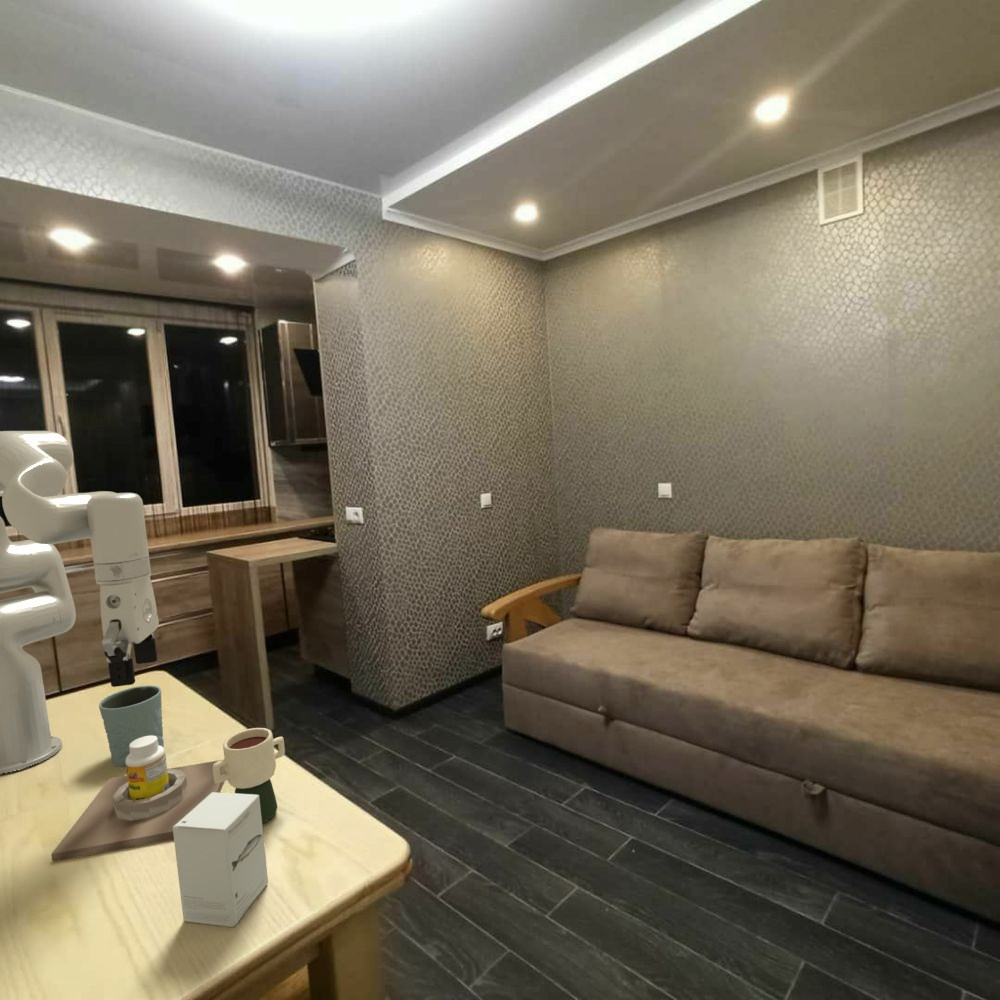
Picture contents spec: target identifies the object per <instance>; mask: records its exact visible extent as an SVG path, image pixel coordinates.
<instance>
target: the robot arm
mask: <svg viewBox="0 0 1000 1000" xmlns="http://www.w3.org/2000/svg"><path fill="white" fill-rule="evenodd" d="M73 462H74V451H73V448H72V445H71V444H70V442H69V441H68V439H66V437H64V436H63V435H61V434H60V433H58V432H55V431H51V430H3V431H2V430H0V497H1V501H2V502H1V503H2V508H3V509H2V510H3V512H4V515H5V517H6V520H7V521H8V523H9V524H10V526H11V527H12V528H13V529H15V531H17V532H19V533H20V534H21V535H22V536H24V537H25V538H26V539H25V540H19V541H11V539H10V538H9V536H8V532H7V528H6V523H5V521H4V519H3V518H2V517H1V516H0V594H4V593H8V592H12V591H17V590H18V591H19V590H21V589H22V590H23V589H26V588H31V589H32V590H33V591H34V592H33V593H30V594H28V593H27V594H24V595H20V596H15V597H13V596H12V597H10V598H5V599H1V600H0V775H3V774H2V773H5V774H7V773H6V772H10V773H12V772H11V771H14V770H18V769H22V768H25V769H27V768H26V767H28V768H30V767H29V766H31V767H33V766H35V765H34V764H36V765H38V764H40V763H42V762H44V760H45V761H47V760H48V759H50V758H51V756H52V757H53V756H55V755H56V754H57V753H58V752H59V751H60V750H61V748H62V747H63V744H62V743H63V742H62V739H61V738H59V737H57V736H54V735H53V736H51V727H50V721H49V720H50V719H49V713H48V708H47V707H48V705H47V700H46V693H45V686H44V680H43V674H42V673H43V671H42V667H41V664H40V662H39V661H38V660H37V658H35V657H34V656H33V655H31V654H29V653H28V652H27V651H25V650H24V649H23V647H24V646H26V645H29V644H31V643H35V642H38V641H43V640H46V639H50V638H53V637H55V636H59V635H63V634H65V633H66V632H68V631H70V630H71V629H72V628H73V627H74V625H75V623H76V619H77V618H76V617H77V613H76V606H75V602H74V599H73V595H72V591H71V588H70V584H69V580H68V577H67V573H66V569H65V565H64V562H63V558H62V555H61V553H60V552H59V550H58V549H57V547H56V546H55V545H57V544H63V543H67V542H68V543H70V542H75V541H81V540H87V539H90V546H91V553H92V561H93V569H94V570H93V571H94V577H95V584H96V585H99V586H100V589H99V594H100V595H99V596H100V598H99V601H100V616H101V617H100V618H101V628H102V635H103V638H102V641H101V645H102V647H103V650H104V651H103V652H104V656H105V657H106V663H107V664H108V671H109V679H110V686H111V687H113V688H116V687H124V686H131V685H134V684H135V683H136V676H135V675H136V674H135V669H134V659H133V658H130V657H131V651H132V647H133V649H134V650H133V651H134V656H135V657H134V658H135V663H136V664H137V665H140V664H148V663H149V664H150V663H155V662H157V661H158V651H157V650H158V649H157V644H156V642H157V641H156V638H155V637H156V630H157V629H158V627H159V624H160V622H159V621H160V620H159V615H158V608H157V603H156V597H155V593H154V587H153V583H152V580H151V577H152V569H151V562H150V561H151V560H150V554H149V546H148V537H147V528H146V527H147V526H146V518H145V510H144V503H143V502H144V501H143V499H142V498H141V496H140V495H139V494H138V493H134V492H118V493H117V492H114V491H108V490H107V491H105V490H103V491H101V490H99V491H90V492H78V493H68V494H67V493H65V494H60V493H61V492H62V491H63V489H64V488H65V486H66V483H67V481H68V475H67V473H68V472H69V471H70V469H71V468H72V465H73ZM123 647H124V648H123ZM121 648H123V650H122V649H121ZM37 763H38V764H37ZM32 765H33V766H32ZM22 770H23V769H22ZM18 771H19V770H18Z"/></svg>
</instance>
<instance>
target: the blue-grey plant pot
mask: <svg viewBox="0 0 1000 1000" xmlns="http://www.w3.org/2000/svg"><path fill="white" fill-rule="evenodd" d="M162 704H163V703H162V688H161V687H159V686H157V685H152V684H151V685H150V684H149V685H138V686H132V687H129V688H125V689H122V690H120V691H117V692H115V693H112V694H110V695H107V697H104V698H103V699H102V700H101V701H100V702H99V703H98V707H99V711H100V715H101V719H102V721H103V726H104V730H105V733H106V737H107V741H108V744H109V745H108V748H109V753H110V756H111V760H112V763H113V765H114V766H115V767H119V768H121V767H123V768H124V767H125V768H126V763H125V761H126V758H127V756H128V755H129V754H130V748H129V745H130V743H131V742H133V741H134V740H136V739H138V738H141V737H144V736H156V737H157V739H158V745H159V746H162V747H163V748H164V749H165V747H164V746H165V745H164V738H163V737H164V731H163V730H164V727H163V715H162V714H163V710H162V709H163V707H162Z"/></svg>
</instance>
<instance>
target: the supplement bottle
mask: <svg viewBox="0 0 1000 1000" xmlns="http://www.w3.org/2000/svg"><path fill="white" fill-rule="evenodd" d="M129 748H130V754H129V755H128V756H127V758H126V761H125V763H126V767H125V768H126V769H125V770H126V776H127V778H128V785H129V792H130V799H131V800H133V801H136V800H141V799H147V798H151V797H153V796H156V795H158V794H161V793H163V792H165V791H166V790H167V789H169V788H170V786H169V778H168V770H167V769H168V764H167V763H168V762H167V756H166V750H165V747H164V748H163V747H162V746H159V745H158V739H157V737H156V736H144V737H141V738H138V739H136V740H134V741H133V742H131V743H130V745H129Z"/></svg>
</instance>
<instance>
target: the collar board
mask: <svg viewBox="0 0 1000 1000" xmlns="http://www.w3.org/2000/svg"><path fill="white" fill-rule="evenodd" d="M221 760H222V759H219V760H214V761H207V762H201V763H195V764H190V765H184V766H177V767H170V768H167V770H168V778H169V786H170V788H169V789H167V790H166V791H165V792H163V793H161V794H158V795H156V796H153V797H151V798H147V799H141V800H136V801H133V800H131V799H130V792H129V785H128V778H127V775H123V776H118V777H117V776H116V777H111V778H109V779H108V780H107V782H105V784H104V785H103V786H102V788H101V789H100V790H99V792H98V793H97V794H96V796H95V797H94V798H93V800H91V802H90V803H89V805H88V806H87V808H85V810H84V811H83V813H82V814H81V815H80V816H79V817H78V819H76V821H75V823H74V824H73V825H72V827H71V828H70V829H69V830H68V832H67V833H66V834H65V836H64V837H63V838H62V839H61V841H60V842H59V843H58V844H57V846H56V847H55V848H54V850H53V851H52V852H51V854H50V856H51V857H50V858H51V862H52V861H54V862H58V860H60V861H64V859H65V860H70V859H75V858H79V857H80V858H81V857H85V856H91V855H95V854H101V853H106V852H113V851H117V850H123V849H128V848H132V847H133V848H134V847H138V846H144V845H149V844H155V843H158V842H160V843H161V842H164V841H170V840H174V834H173V826H174V825H176V824H177V823H178V822H179V821H180V820H181V819H182V818H184V817H185V816H186V815H187V814H188V813H189V812H190V811H191V810H192V809H194V808H195V807H196V806H197V805H198V804H199V803H200V802H202V801H203V800H204V799H205V798H206V797H207V796H208V795H209V794H211V793H212V792H217V793H221V791H222V789H223V786H224V784H225V782H226V781H224V782H222V783H218V784H215V782H214V776H213V764H215V763H216V762H218V761H221ZM224 774H226V768H225V766H223V767H220V775H221V776H222V775H224ZM69 858H70V859H69Z"/></svg>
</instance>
